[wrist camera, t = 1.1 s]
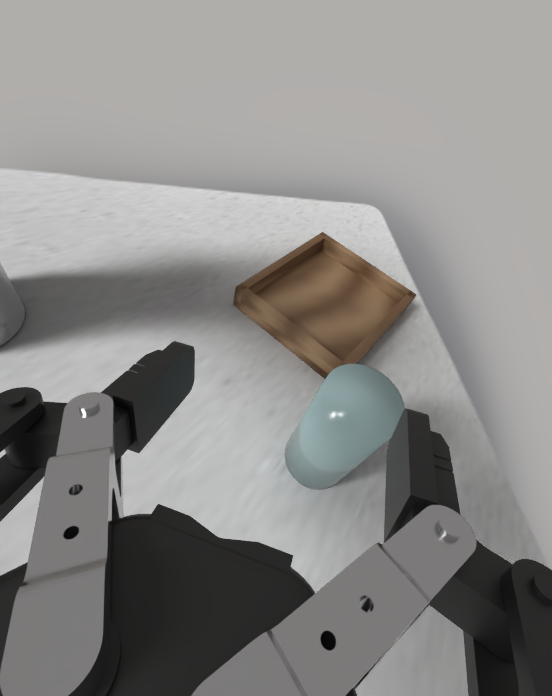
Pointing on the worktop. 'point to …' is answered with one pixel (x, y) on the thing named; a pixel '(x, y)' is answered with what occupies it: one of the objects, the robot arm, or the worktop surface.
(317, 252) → the tray
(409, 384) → the worktop surface
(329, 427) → the pale blue cylinder
